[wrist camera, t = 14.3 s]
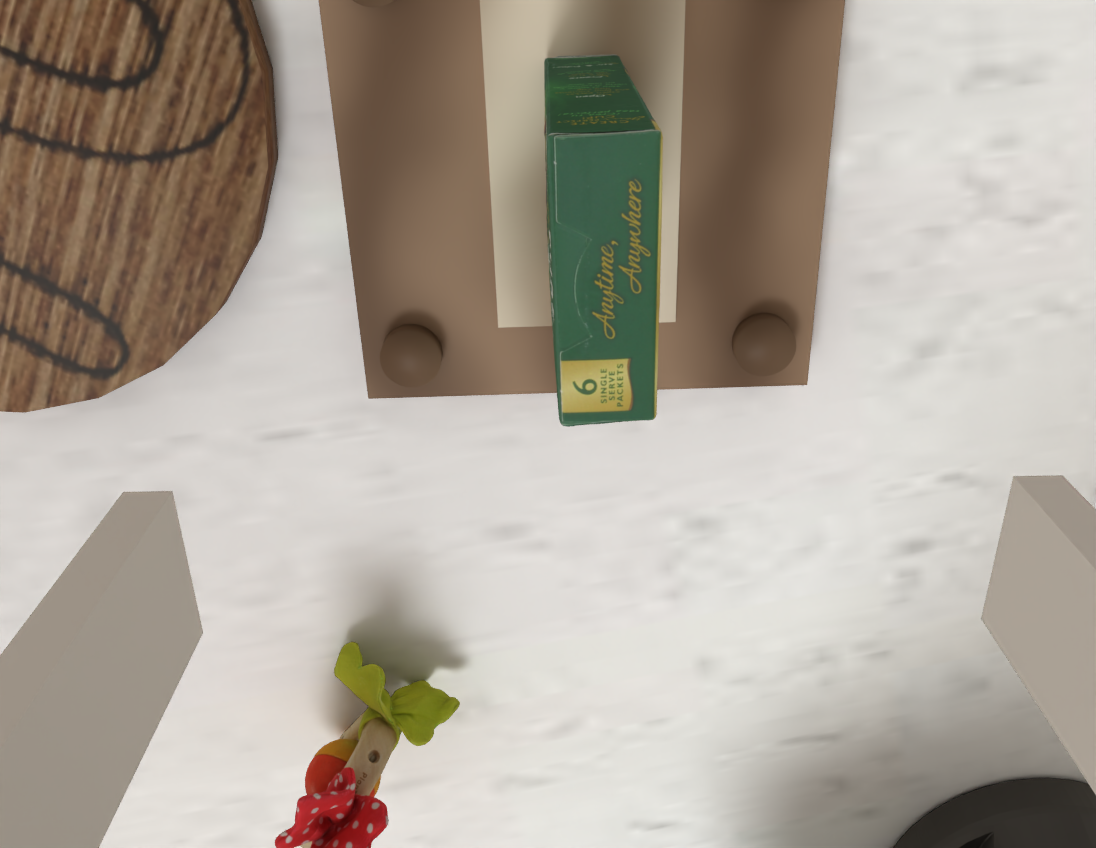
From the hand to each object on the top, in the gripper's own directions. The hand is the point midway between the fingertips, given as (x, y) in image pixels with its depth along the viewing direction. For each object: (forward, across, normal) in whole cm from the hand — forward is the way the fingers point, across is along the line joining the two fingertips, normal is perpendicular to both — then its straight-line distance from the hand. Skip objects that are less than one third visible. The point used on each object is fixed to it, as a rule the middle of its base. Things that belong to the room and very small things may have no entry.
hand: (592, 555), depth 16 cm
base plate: (+25, -1, -1) cm, 25 cm away
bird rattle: (+26, +10, +26) cm, 38 cm away
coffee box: (+23, -1, -1) cm, 23 cm away
